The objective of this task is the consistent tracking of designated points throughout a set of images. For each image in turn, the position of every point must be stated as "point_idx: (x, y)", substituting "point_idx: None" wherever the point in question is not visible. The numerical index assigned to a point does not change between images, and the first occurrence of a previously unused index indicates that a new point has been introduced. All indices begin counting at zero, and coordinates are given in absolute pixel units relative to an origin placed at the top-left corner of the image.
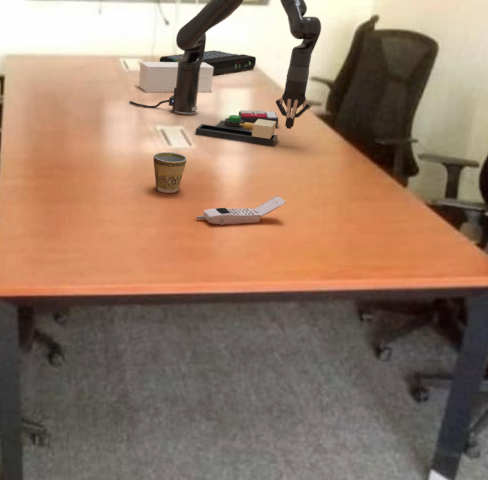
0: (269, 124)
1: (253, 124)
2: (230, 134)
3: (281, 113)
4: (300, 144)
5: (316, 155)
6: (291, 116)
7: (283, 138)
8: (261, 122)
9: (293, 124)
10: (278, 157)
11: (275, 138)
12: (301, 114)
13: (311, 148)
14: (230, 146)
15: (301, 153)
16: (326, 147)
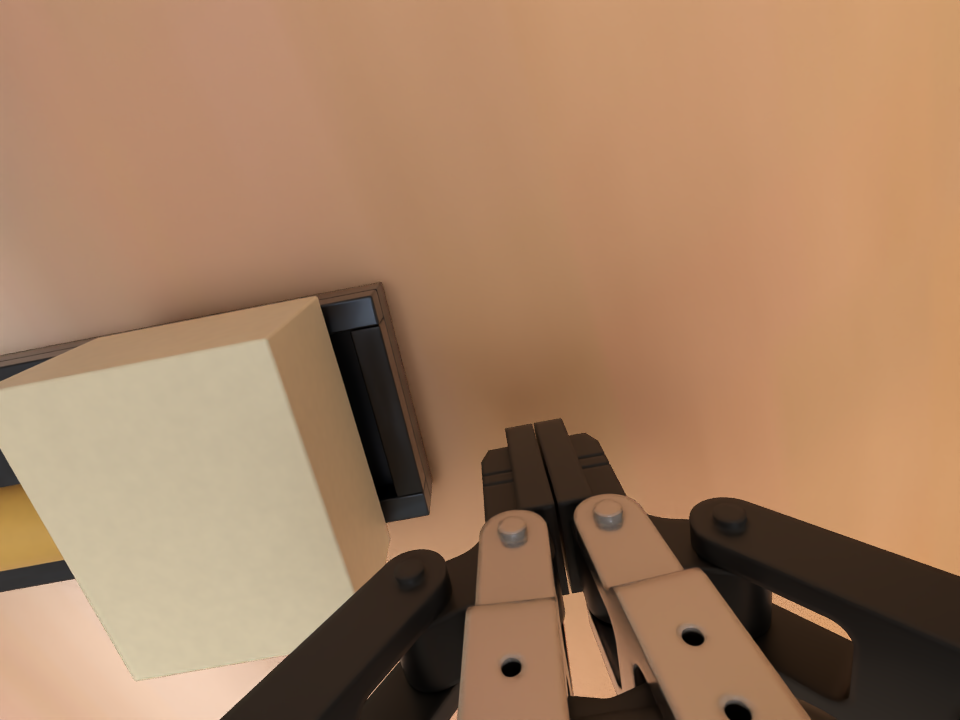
0: (287, 568)
1: (137, 678)
2: (4, 590)
3: (399, 686)
4: (630, 217)
5: (832, 468)
6: (599, 625)
7: (388, 101)
8: (149, 551)
9: (601, 450)
10: (573, 689)
11: (408, 439)
12: (825, 650)
13: (763, 284)
14: (174, 687)
15: (704, 499)
16: (915, 120)
